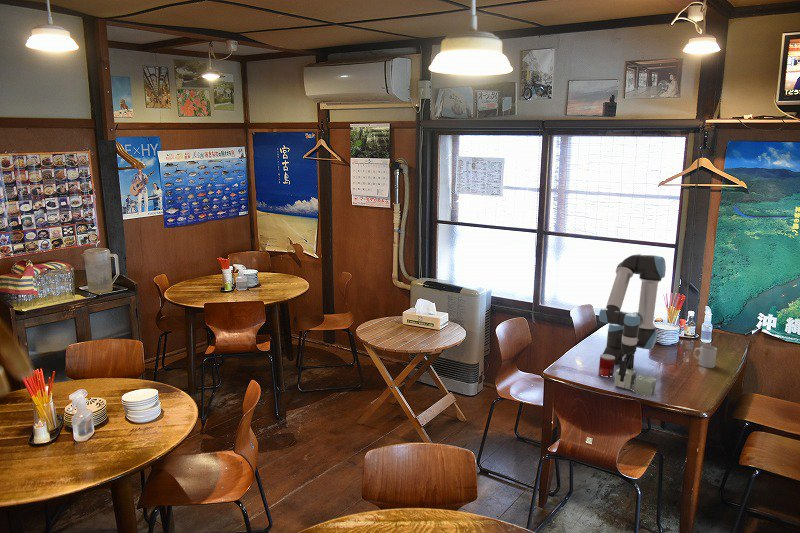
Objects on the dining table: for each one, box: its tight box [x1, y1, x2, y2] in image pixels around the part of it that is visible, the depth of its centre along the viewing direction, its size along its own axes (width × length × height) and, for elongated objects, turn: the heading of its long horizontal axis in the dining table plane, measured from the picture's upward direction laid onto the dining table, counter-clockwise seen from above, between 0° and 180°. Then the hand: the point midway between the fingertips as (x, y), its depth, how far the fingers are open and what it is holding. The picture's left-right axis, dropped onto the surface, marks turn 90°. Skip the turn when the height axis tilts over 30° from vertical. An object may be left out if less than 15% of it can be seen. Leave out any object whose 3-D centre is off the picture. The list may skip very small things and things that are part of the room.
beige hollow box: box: [613, 367, 637, 390], centre depth 327 cm, size 9×7×8 cm
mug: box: [693, 344, 718, 369], centre depth 364 cm, size 12×8×11 cm
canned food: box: [598, 353, 616, 377], centre depth 343 cm, size 8×8×11 cm
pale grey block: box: [630, 374, 657, 398], centre depth 324 cm, size 18×7×8 cm, turn 50°
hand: (624, 384), depth 328 cm, fingers closed on beige hollow box, 7 cm apart
